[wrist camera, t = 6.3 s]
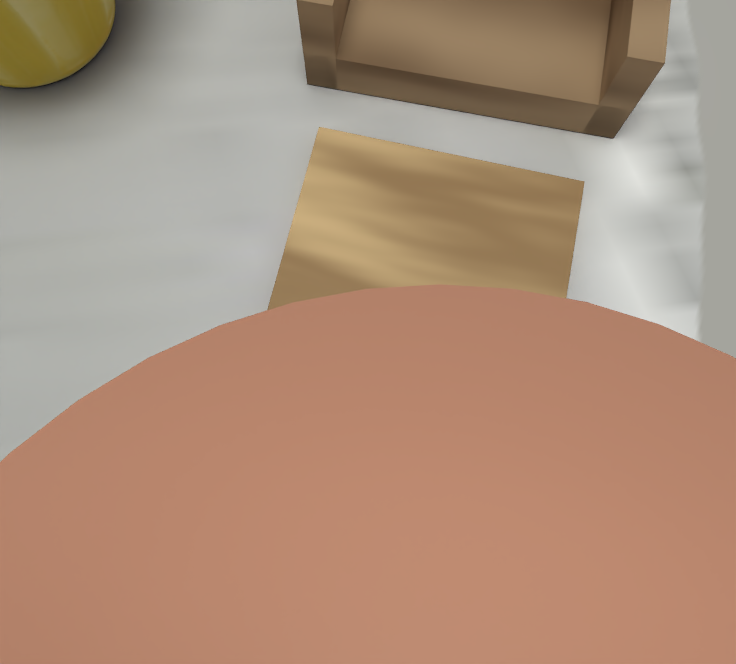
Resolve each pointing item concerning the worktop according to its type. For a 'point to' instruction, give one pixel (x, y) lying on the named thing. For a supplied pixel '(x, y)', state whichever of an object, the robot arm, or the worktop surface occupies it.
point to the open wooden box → (493, 55)
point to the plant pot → (50, 38)
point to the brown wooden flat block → (424, 222)
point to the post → (385, 493)
